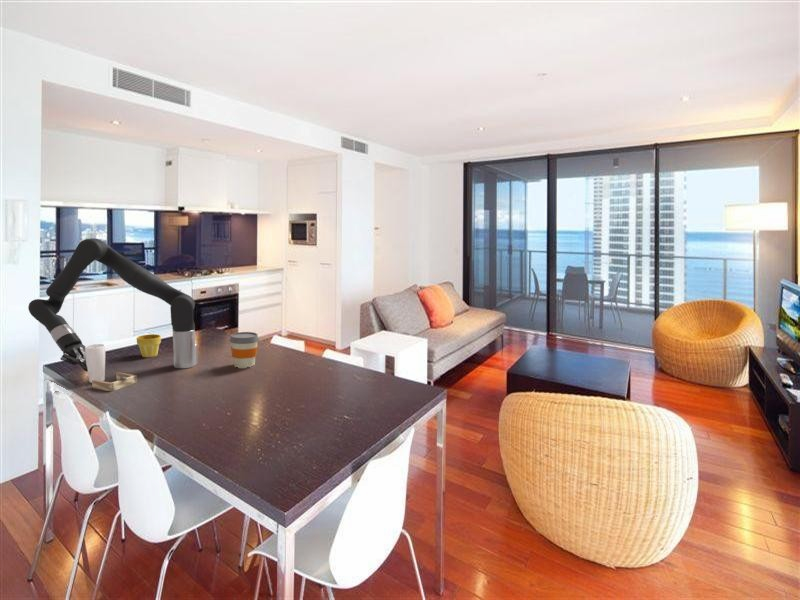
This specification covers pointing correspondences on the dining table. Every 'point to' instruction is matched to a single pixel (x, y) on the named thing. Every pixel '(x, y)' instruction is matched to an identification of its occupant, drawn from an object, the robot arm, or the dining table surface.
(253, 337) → the reusable coffee cup
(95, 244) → the robot arm
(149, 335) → the plant pot
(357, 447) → the dining table surface
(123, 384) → the oak dock
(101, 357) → the drinking glass
